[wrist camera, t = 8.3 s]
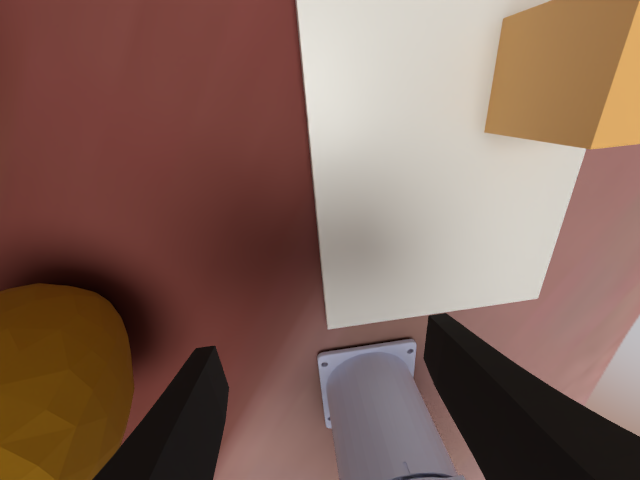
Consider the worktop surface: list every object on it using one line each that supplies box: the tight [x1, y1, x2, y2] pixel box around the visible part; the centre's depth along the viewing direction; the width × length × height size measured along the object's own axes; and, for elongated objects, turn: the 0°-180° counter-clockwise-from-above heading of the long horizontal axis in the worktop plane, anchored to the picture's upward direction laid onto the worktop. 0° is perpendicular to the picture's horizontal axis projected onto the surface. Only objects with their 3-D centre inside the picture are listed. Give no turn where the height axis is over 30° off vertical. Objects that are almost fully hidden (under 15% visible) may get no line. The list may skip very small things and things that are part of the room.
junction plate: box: [295, 0, 586, 329], centre depth 15 cm, size 20×16×4 cm
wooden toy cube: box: [484, 0, 640, 149], centre depth 12 cm, size 5×5×6 cm
